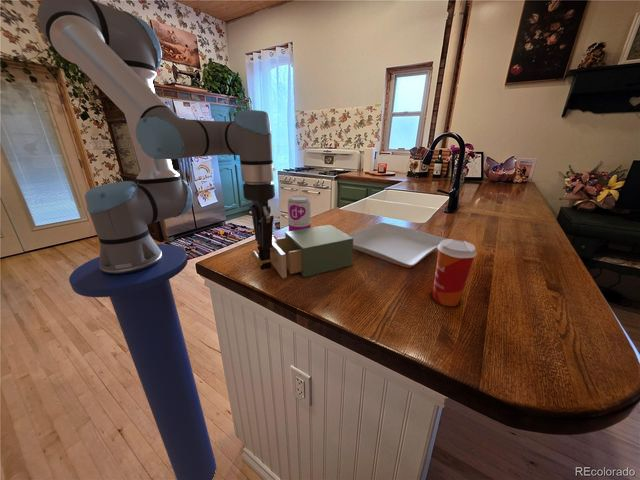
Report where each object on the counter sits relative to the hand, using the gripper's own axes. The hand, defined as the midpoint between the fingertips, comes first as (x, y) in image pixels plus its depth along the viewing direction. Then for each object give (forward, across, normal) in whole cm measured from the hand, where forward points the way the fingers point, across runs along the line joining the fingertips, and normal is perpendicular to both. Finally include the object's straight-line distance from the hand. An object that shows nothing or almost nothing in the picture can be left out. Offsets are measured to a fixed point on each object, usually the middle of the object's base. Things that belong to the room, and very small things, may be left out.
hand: (265, 267), depth 71 cm
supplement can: (+2, +21, -19) cm, 28 cm away
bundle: (+2, +14, -6) cm, 15 cm away
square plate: (+2, -4, -43) cm, 43 cm away
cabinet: (+2, 0, -16) cm, 16 cm away
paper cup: (+2, -31, -34) cm, 46 cm away
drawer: (+1, 0, -7) cm, 7 cm away
